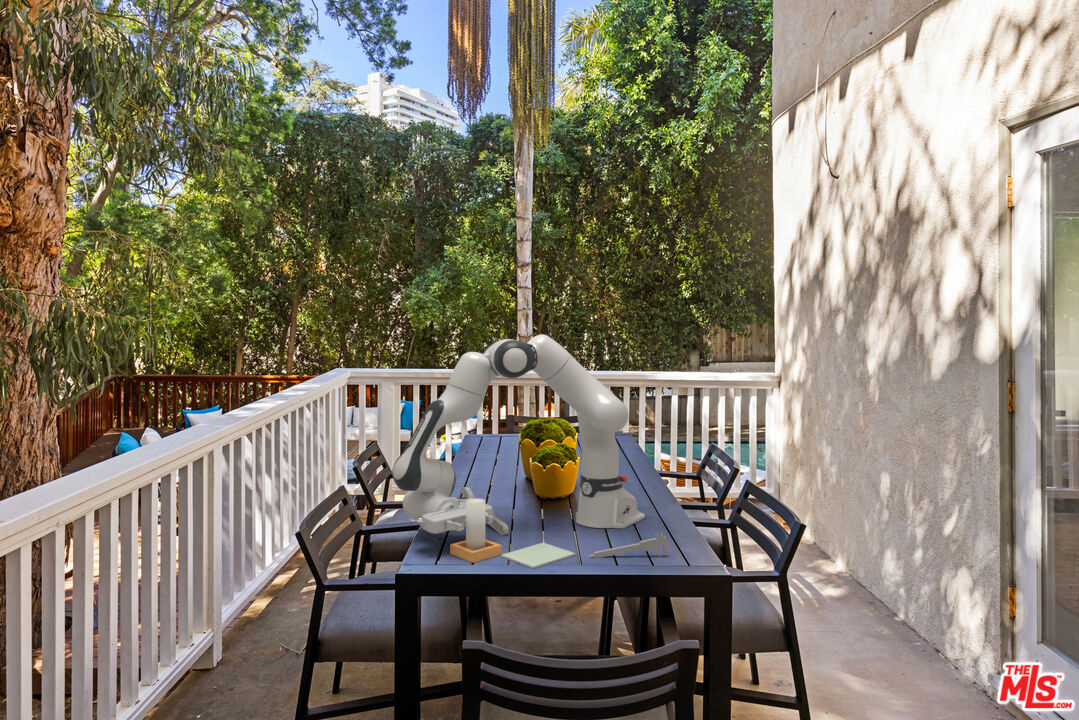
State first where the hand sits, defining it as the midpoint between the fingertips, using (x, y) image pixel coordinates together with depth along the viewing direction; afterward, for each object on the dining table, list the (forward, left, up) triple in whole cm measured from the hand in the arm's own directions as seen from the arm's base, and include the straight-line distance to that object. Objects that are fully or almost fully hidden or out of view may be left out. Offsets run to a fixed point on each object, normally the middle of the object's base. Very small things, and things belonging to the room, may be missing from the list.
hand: (476, 524), depth 187 cm
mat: (-11, +12, -8) cm, 18 cm away
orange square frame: (0, 0, -8) cm, 8 cm away
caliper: (-28, +28, -8) cm, 40 cm away
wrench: (-20, -21, -8) cm, 30 cm away
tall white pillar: (0, 0, -8) cm, 8 cm away
